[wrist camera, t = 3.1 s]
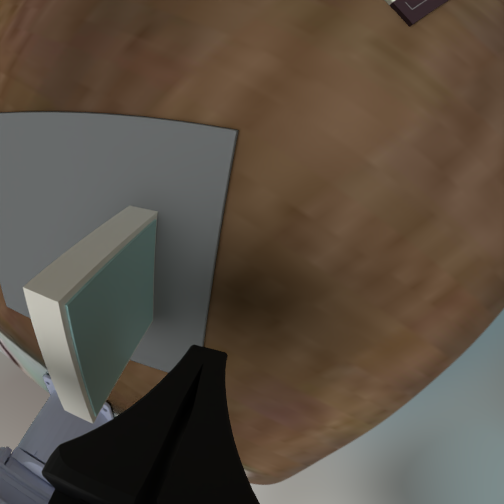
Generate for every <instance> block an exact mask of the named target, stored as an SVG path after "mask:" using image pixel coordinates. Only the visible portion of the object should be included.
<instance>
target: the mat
mask: <svg viewBox="0 0 504 504" xmlns="http://www.w3.org/2000/svg"><path fill="white" fill-rule="evenodd" d="M237 136H238V130H235V129H229V128H223V127H218V126H211V125H205V124H199V123H192V122H185V121H177V120H170V119H161V118H152V117H143V116H132V115H120V114H106V113H88V112H5V113H0V284H1V288H2V292H3V295H4V299H5V302H6V306H7V307H9V308H11V309H13V310H15V311H17V312H19V313H21V314H23V315H25V316H27V317H29V318H31V317H30V314H29V310H28V306H27V302H26V298H25V294H24V290H23V286H25V285H26V284H27V283H28V282H29V281H30V280H32V279H33V278H34V277H35V276H36V275H38V274H39V273H40V272H41V271H42V270H44V269H45V268H46V267H47V266H48V265H50V264H51V263H52V262H53V261H55V260H56V259H57V258H58V257H60V256H61V255H62V254H64V253H65V252H66V251H67V250H69V249H70V248H71V247H73V246H74V245H75V244H77V243H78V242H79V241H81V240H82V239H83V238H85V237H86V236H87V235H89V234H90V233H91V232H93V231H94V230H95V229H97V228H98V227H100V226H101V225H102V224H104V223H105V222H107V221H108V220H109V219H111V218H112V217H114V216H115V215H116V214H118V213H119V212H121V211H122V210H124V209H125V208H127V207H128V206H134V207H139V208H144V209H148V210H153V211H158V213H157V227H156V243H155V263H154V294H153V322H152V323H151V325H150V326H149V328H148V330H147V331H146V333H145V335H144V336H143V338H142V340H141V341H140V343H139V345H138V346H137V348H136V350H135V351H134V353H133V355H132V357H131V358H130V360H132V361H135V362H138V363H140V364H143V365H146V366H150V367H153V368H156V369H159V370H162V371H165V372H168V373H169V372H170V371H171V370H172V369H173V368H174V367H175V366H176V364H177V363H178V362H179V361H180V360H181V359H182V357H183V356H184V355H185V353H186V352H187V351H188V349H189V348H190V346H191V345H198V346H202V347H203V345H204V338H205V330H206V323H207V316H208V309H209V302H210V296H211V289H212V282H213V276H214V269H215V263H216V256H217V250H218V244H219V238H220V231H221V225H222V219H223V213H224V208H225V202H226V196H227V190H228V185H229V179H230V173H231V168H232V162H233V157H234V152H235V146H236V141H237Z"/></svg>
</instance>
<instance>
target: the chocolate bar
mask: <svg viewBox="0 0 504 504" xmlns="http://www.w3.org/2000/svg"><path fill="white" fill-rule="evenodd" d="M385 1H386V2H387V3H388V4H389V5H390V6H391V7H392V8H393V9H394V10H395V11H396V12H397V14H398V15H399V16H400V17H401V18H402V19H403V20H404V21H405V22H406V23H407V24H408V26H411V25H412V24H414V23H415V22H417V21H418V20H420V19H421V18H423V17H424V16H425V15H427V14H428V13H430V12H431V11H433V10H434V9H436V8H437V7H439V6H440V5H442V4H443V3H445V2H446V1H448V0H385Z"/></svg>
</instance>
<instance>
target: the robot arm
mask: <svg viewBox="0 0 504 504" xmlns="http://www.w3.org/2000/svg"><path fill="white" fill-rule="evenodd" d="M226 360H227V354H226V353H225V352H221V351H217V350H213V349H209V348H206V347H202V346H198V345H191V346H190V348H189V349H188V351H187V352H186V353H185V355H184V356H183V357H182V359H181V360H180V361H179V362H178V363H177V364H176V366H175V367H174V368H173V369H172V370H171V371H170V372H169V373H168V374H167V375H166V376H165V377H164V378H163V379H162V380H161V381H160V382H159V383H158V384H157V385H156V386H155V387H154V388H153V389H152V390H151V391H150V392H148V393H147V394H146V395H145V396H144V397H143V398H141V399H140V400H139V401H138V402H136V403H135V404H134V405H132V406H131V407H130V408H128V409H127V410H126V411H124V412H123V413H121V414H120V415H118V416H117V417H115V418H113V414H112V411H111V407H110V405H109V404H108V403H107V402H105V404H104V405H103V407H102V409H101V411H100V413H99V414H98V416H97V418H96V420H95V422H94V423H93V424H92V423H90V422H88V421H86V420H84V419H82V418H79V417H77V416H75V415H73V414H71V413H69V412H67V411H65V410H64V408H63V406H62V404H61V401H60V399H59V397H58V394H57V392H56V390H55V387H54V385H53V382H52V380H51V377H50V376H49V375H47V374H44V376H43V379H44V382H45V384H46V386H47V389H48V391H49V393H50V395H51V396H50V397H49V399H48V400H47V401H46V403H45V404H44V406H43V407H42V409H41V410H40V412H39V413H38V415H37V416H36V418H35V420H34V421H33V422H32V424H31V426H30V427H29V429H28V430H27V432H26V434H25V435H24V437H23V438H22V440H21V441H20V443H19V445H18V446H17V447H16V448H15V449H14V451H13V452H12V454H11V451H12V450H11V449H10V448H9V447H6V448H5V447H1V448H0V504H260V503H259V502H258V500H257V498H256V496H255V494H254V492H253V490H252V488H251V485H250V483H249V481H248V479H247V476H246V474H245V471H244V468H243V466H242V463H241V460H240V457H239V455H238V451H237V448H236V445H235V441H234V437H233V433H232V429H231V425H230V420H229V414H228V408H227V400H226V389H225V367H226Z"/></svg>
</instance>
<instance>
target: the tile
mask: <svg viewBox="0 0 504 504" xmlns="http://www.w3.org/2000/svg"><path fill="white" fill-rule="evenodd" d="M157 213H158V211H153V210H148V209H144V208H139V207H134V206H128V207H127V208H125V209H124V210H122V211H121V212H119V213H118V214H116V215H115V216H114V217H112V218H111V219H109V220H108V221H107V222H105V223H104V224H102V225H101V226H100V227H98V228H97V229H95V230H94V231H93V232H91V233H90V234H89V235H87V236H86V237H85V238H83V239H82V240H81V241H79V242H78V243H77V244H75V245H74V246H73V247H71V248H70V249H69V250H67V251H66V252H65V253H64V254H62V255H61V256H60V257H58V258H57V259H56V260H55V261H53V262H52V263H51V264H50V265H48V266H47V267H46V268H45V269H44V270H42V271H41V272H40V273H39V274H38V275H36V276H35V277H34V278H33V279H32V280H30V281H29V282H28V283H27V284H26V285H25V286H23V290H24V294H25V298H26V302H27V306H28V310H29V314H30V317H31V321H32V324H33V328H34V331H35V334H36V337H37V341H38V344H39V347H40V350H41V353H42V356H43V358H44V361H45V364H46V367H47V369H48V372H49V375H50V377H51V380H52V382H53V385H54V387H55V390H56V392H57V394H58V397H59V399H60V401H61V404H62V406H63V408H64V410H65V411H67V412H69V413H71V414H73V415H75V416H77V417H79V418H82V419H84V420H86V421H88V422H90V423H92V424H93V423H94V422H95V420H96V418H97V416H98V414H99V413H100V411H101V409H102V407H103V405H104V404H105V402H106V400H107V398H108V396H109V395H110V393H111V391H112V389H113V388H114V386H115V384H116V382H117V381H118V379H119V377H120V375H121V374H122V372H123V370H124V368H125V367H126V365H127V363H128V362H129V360H130V358H131V357H132V355H133V353H134V351H135V350H136V348H137V346H138V345H139V343H140V341H141V340H142V338H143V336H144V335H145V333H146V331H147V330H148V328H149V326H150V325H151V323H152V322H153V294H154V263H155V243H156V227H157Z"/></svg>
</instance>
